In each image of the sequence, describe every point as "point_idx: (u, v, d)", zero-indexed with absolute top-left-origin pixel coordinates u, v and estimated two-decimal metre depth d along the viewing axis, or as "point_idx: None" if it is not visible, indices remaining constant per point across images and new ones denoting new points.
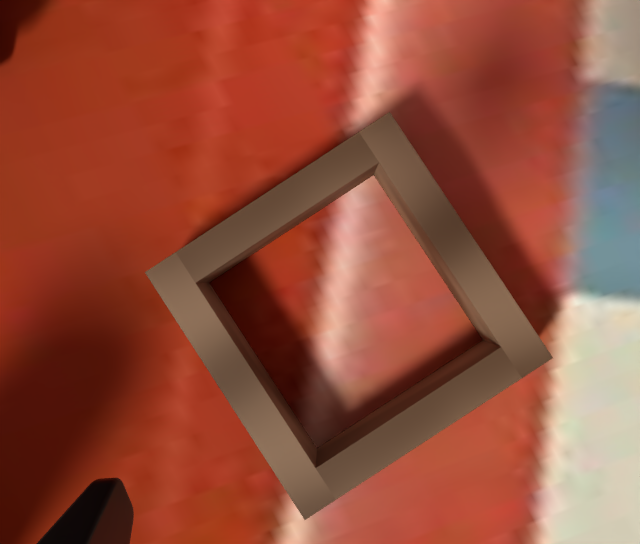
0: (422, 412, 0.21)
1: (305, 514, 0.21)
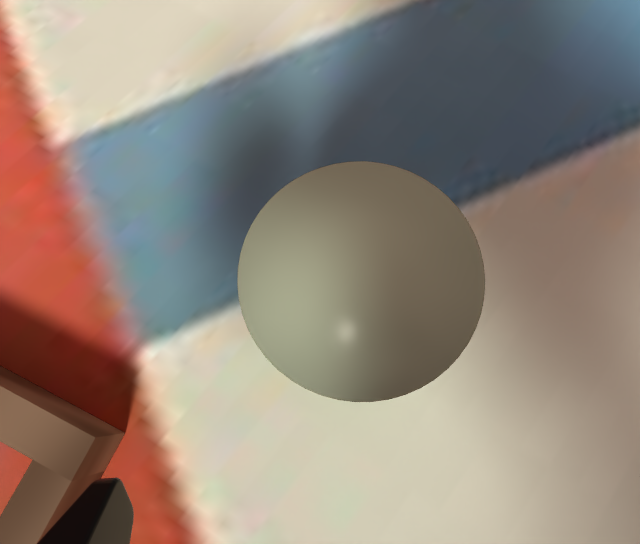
0: None
1: None
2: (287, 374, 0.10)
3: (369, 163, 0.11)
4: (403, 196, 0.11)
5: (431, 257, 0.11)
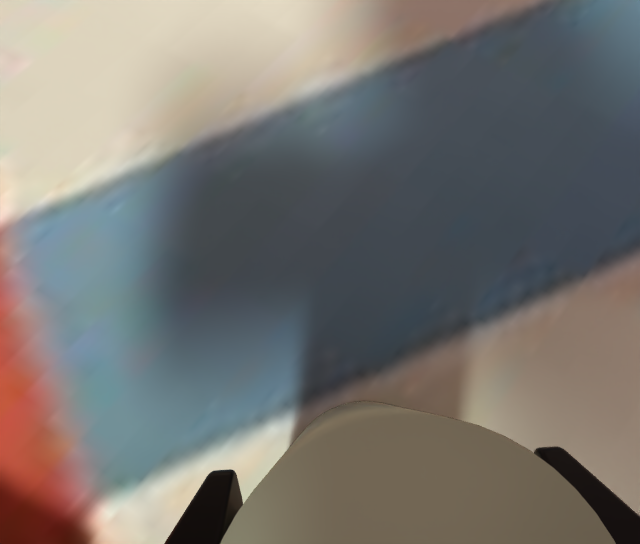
0: None
1: None
2: None
3: (431, 417, 0.06)
4: (494, 486, 0.06)
5: None
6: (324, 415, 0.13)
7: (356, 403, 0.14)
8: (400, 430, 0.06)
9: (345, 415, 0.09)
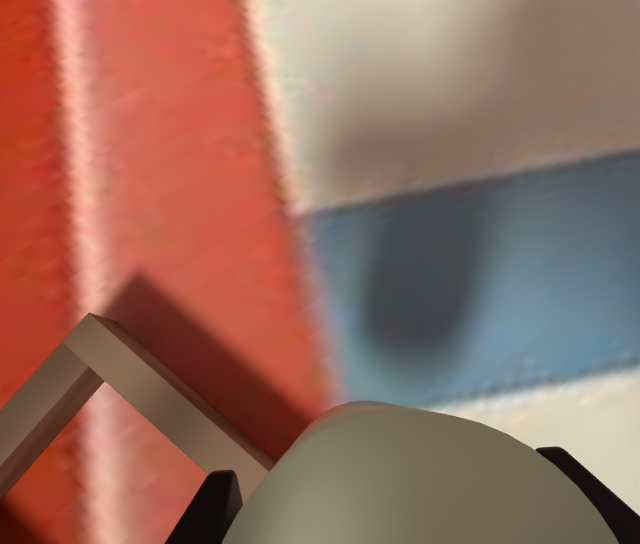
0: None
1: None
2: None
3: (433, 415, 0.06)
4: (496, 483, 0.06)
5: None
6: (325, 414, 0.13)
7: (357, 402, 0.14)
8: (402, 428, 0.06)
9: (347, 413, 0.09)
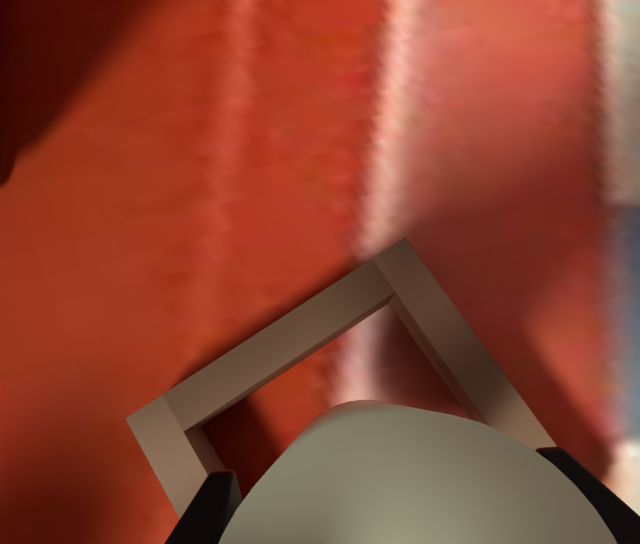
0: None
1: None
2: None
3: (431, 414, 0.06)
4: (494, 482, 0.06)
5: None
6: (324, 413, 0.13)
7: None
8: (400, 426, 0.06)
9: (345, 412, 0.09)
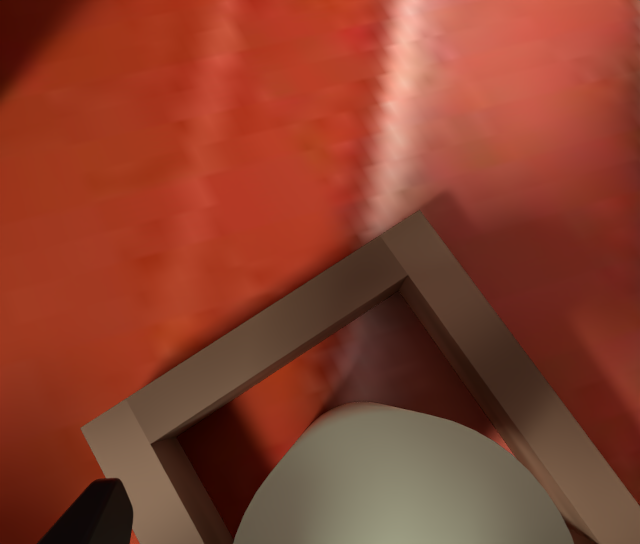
0: None
1: None
2: None
3: (414, 414, 0.08)
4: (465, 470, 0.08)
5: None
6: (326, 414, 0.15)
7: (355, 403, 0.16)
8: (389, 425, 0.08)
9: (344, 413, 0.10)
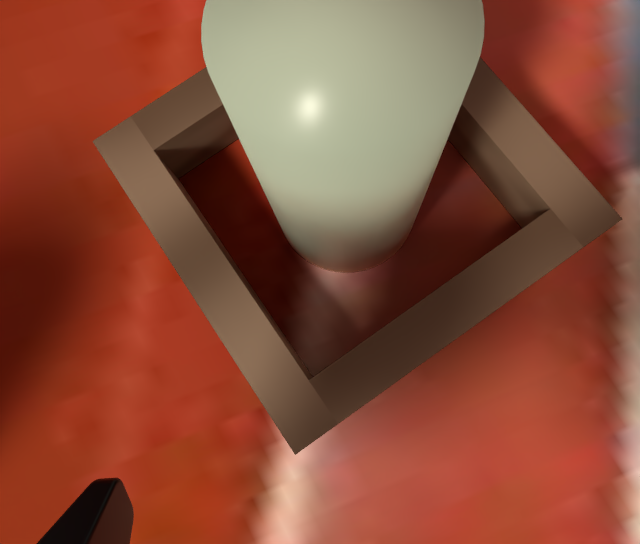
0: (451, 298, 0.16)
1: (295, 446, 0.15)
2: (260, 131, 0.09)
3: None
4: None
5: None
6: None
7: None
8: None
9: None
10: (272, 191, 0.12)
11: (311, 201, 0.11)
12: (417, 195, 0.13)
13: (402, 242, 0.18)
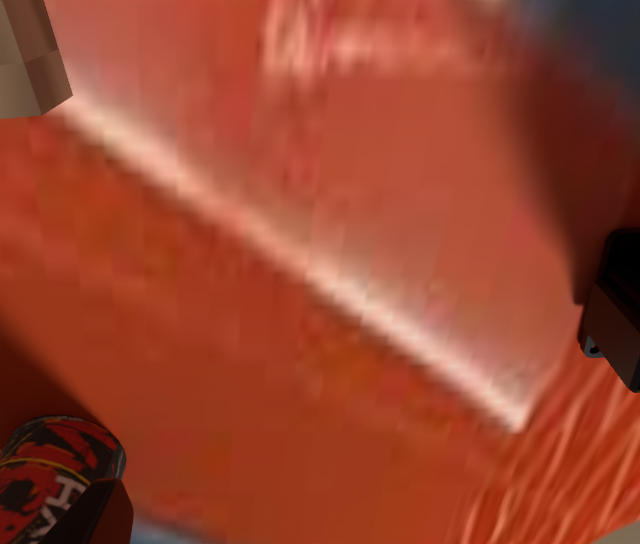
0: None
1: (34, 111, 0.16)
2: None
3: None
4: None
5: None
6: None
7: None
8: None
9: None
10: None
11: None
12: None
13: None
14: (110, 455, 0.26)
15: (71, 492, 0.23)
